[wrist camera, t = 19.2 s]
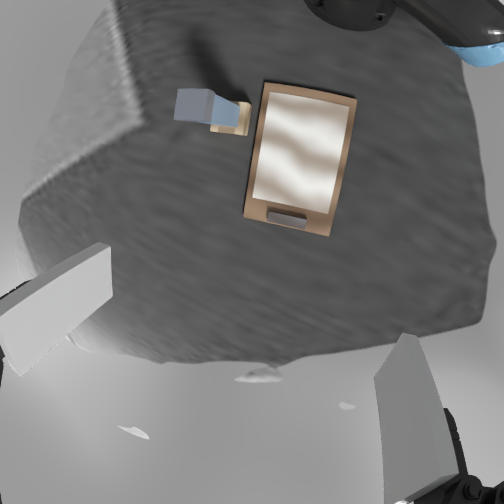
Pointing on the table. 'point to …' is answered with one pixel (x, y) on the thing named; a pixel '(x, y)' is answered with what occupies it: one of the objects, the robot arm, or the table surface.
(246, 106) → the stand
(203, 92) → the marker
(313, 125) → the clipboard
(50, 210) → the table surface
